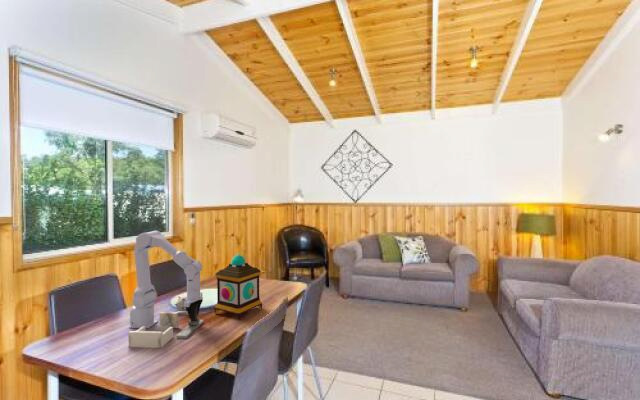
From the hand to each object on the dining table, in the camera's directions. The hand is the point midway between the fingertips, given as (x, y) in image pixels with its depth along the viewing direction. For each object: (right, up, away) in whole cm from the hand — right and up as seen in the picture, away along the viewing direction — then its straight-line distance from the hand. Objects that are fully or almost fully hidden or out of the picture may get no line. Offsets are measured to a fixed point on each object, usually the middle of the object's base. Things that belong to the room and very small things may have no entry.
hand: (193, 317), depth 144 cm
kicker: (-6, -4, 0) cm, 8 cm away
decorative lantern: (+16, -4, +19) cm, 25 cm away
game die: (-13, -5, +19) cm, 24 cm away
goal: (-12, -5, -14) cm, 19 cm away
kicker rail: (0, -5, -3) cm, 5 cm away
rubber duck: (-11, -5, -5) cm, 13 cm away
